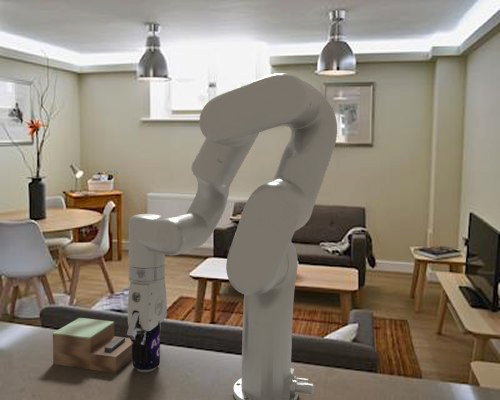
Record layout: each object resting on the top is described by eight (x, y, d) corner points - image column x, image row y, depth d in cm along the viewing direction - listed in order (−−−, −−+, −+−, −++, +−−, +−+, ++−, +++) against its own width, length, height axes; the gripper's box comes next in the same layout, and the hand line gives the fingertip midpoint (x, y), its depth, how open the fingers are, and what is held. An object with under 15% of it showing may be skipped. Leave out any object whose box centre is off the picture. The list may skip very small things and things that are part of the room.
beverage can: (153, 375, 98) (153, 319, 97) (128, 372, 100) (128, 316, 98) (163, 363, 104) (164, 310, 103) (139, 360, 105) (139, 308, 104)
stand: (137, 353, 109) (137, 324, 108) (116, 373, 99) (116, 340, 98) (79, 346, 112) (79, 317, 111) (53, 364, 102) (52, 332, 102)
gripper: (145, 284, 91) (144, 375, 92) (178, 265, 107) (177, 342, 109) (109, 281, 92) (110, 370, 94) (148, 262, 109) (147, 338, 111)
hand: (146, 354), depth 101 cm, fingers closed on beverage can, 5 cm apart
